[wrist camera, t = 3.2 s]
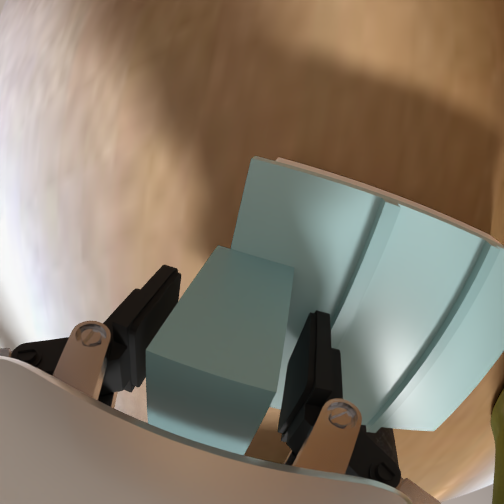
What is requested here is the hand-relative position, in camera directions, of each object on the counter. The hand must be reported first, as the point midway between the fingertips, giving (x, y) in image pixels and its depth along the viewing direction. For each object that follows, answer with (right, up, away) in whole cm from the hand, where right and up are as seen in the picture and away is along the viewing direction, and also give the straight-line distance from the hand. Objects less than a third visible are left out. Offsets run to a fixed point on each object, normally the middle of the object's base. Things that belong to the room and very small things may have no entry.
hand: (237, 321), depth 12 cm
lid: (+7, -1, +1) cm, 7 cm away
